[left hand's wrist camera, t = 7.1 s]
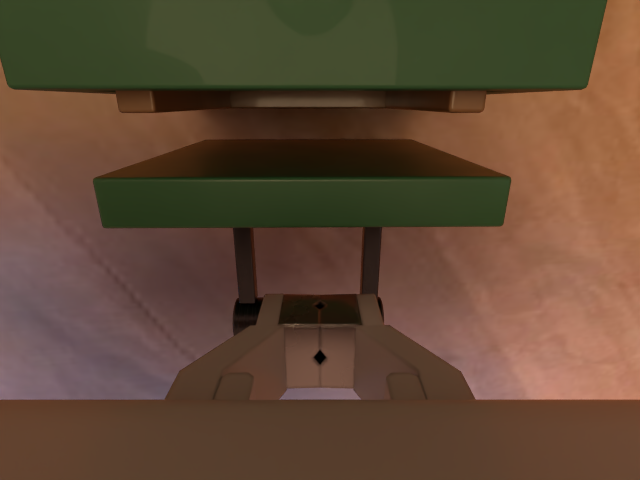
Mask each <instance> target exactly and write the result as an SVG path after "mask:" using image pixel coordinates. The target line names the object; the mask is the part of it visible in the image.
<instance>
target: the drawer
mask: <svg viewBox="0 0 640 480" xmlns="http://www.w3.org/2000/svg"><path fill="white" fill-rule="evenodd" d="M486 92H487V91H116V97H117V102H118V108H119V111H120V112H122V113H159V112H175V111H192V110H208V109H224V108H392V109H406V110H420V111H434V112H448V113H480V112H482V111H483V110H484V106H485V99H486ZM93 184H94V189H95V193H96V198H97V203H98V207H99V212H100V217H101V221H102V226H103V227H104V228H233V234H234V245H235V257H236V269H237V280H238V292H239V298H237V300H236V302H235V306H234V311H233V333H234V336H235V335H236V334H238V333H239V332H241V331H243V330H244V329H246V328H247V327H249V326H250V325H256V323H257V319H258V316H259V312H260V309H261V305H262V302H263V298H257V296H258V294H257V279H256V264H255V249H254V234H253V228H274V227H363V231H362V255H361V279H360V294H375V295H376V299H377V302H378V306H379V309H380V312H381V316H382V319H383V323H384V312H383V305H382V301H381V298H380V297H378V282H379V266H380V250H381V233H382V227H490V226H502V225H503V223H504V217H505V212H506V206H507V201H508V195H509V189H510V184H511V178H510V177H509V176H506V175H504V174H501V173H498V172H496V171H493V170H490V169H488V168H485V167H482V166H480V165H477V164H475V163H472V162H469V161H467V160H464V159H461V158H459V157H456V156H453V155H451V154H448V153H445V152H443V151H440V150H437V149H435V148H432V147H430V146H427V145H424V144H422V143H419V142H416V141H414V140H204V141H201V142H198V143H195V144H192V145H189V146H186V147H183V148H181V149H178V150H175V151H172V152H169V153H166V154H163V155H160V156H157V157H154V158H151V159H148V160H145V161H142V162H140V163H137V164H134V165H131V166H128V167H125V168H122V169H119V170H116V171H113V172H110V173H107V174H104V175H101V176H98V177H96V178H94V179H93Z"/></svg>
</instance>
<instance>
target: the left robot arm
mask: <svg viewBox="0 0 640 480" xmlns="http://www.w3.org/2000/svg"><path fill="white" fill-rule="evenodd" d="M318 387H321V388H354V391H355V392H356V393H357V395H358V396H359V397H360V398H361V399H362V400H279V399H280V397H281V396H282V395H283V394H284V393H285V391H286V388H318ZM0 480H640V400H476V399H475V398H474V396H473V394H472V392H471V390H470V388H469V386H468V384H467V382H466V380H465V378H464V376H463V375H462V373H461V371H459V370H458V369H456V368H455V367H453V366H452V365H450V364H448V363H447V362H445V361H444V360H442V359H441V358H439V357H438V356H436V355H435V354H433V353H431V352H430V351H428V350H427V349H425V348H424V347H422V346H421V345H419V344H418V343H416V342H414V341H413V340H411V339H410V338H408V337H407V336H405V335H404V334H402V333H401V332H399V331H397V330H396V329H394V328H393V327H391V326H390V325H384V323H383V319H382V316H381V312H380V309H379V306H378V302H377V299H376V295H375V294H334V295H306V294H266V295H265V296H264V298H263V302H262V305H261V309H260V312H259V316H258V319H257V323H256V325H250V326H249V327H247V328H246V329H244V330H243V331H241V332H239V333H238V334H236V335H235V336H233V337H232V338H230V339H229V340H227V341H225V342H224V343H222V344H221V345H219V346H218V347H216V348H215V349H213V350H211V351H210V352H208V353H207V354H205V355H204V356H202V357H201V358H199V359H198V360H196V361H194V362H193V363H191V364H190V365H188V366H187V367H185V368H184V369H182V370H180V371H179V373H178V375H177V377H176V379H175V381H174V382H173V384H172V386H171V388H170V390H169V392H168V394H167V396H166V398H165V399H164V400H0Z"/></svg>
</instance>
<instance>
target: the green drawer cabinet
mask: <svg viewBox="0 0 640 480" xmlns="http://www.w3.org/2000/svg"><path fill="white" fill-rule="evenodd" d="M606 4H607V0H0V59H1V62H2V66H3V70H4V74H5V77H6V81H7V84H8V86H9V87H10V88H12V89H17V90H39V91H60V92H83V93H105V94H116V91H487V92H486V94H503V93H524V92H544V91H565V90H582V89H584V88H586V87H587V85H588V81H589V77H590V73H591V68H592V64H593V60H594V55H595V51H596V47H597V42H598V38H599V34H600V29H601V25H602V21H603V16H604V12H605V8H606Z"/></svg>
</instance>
